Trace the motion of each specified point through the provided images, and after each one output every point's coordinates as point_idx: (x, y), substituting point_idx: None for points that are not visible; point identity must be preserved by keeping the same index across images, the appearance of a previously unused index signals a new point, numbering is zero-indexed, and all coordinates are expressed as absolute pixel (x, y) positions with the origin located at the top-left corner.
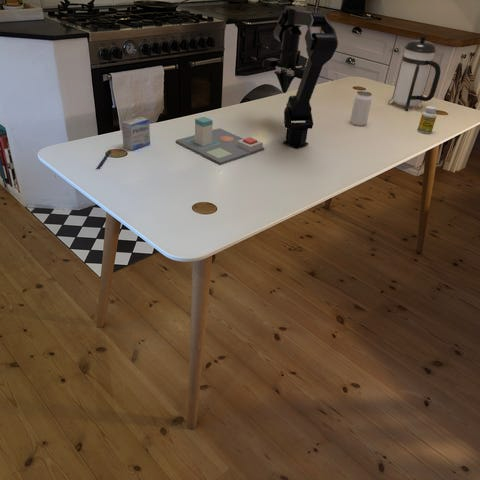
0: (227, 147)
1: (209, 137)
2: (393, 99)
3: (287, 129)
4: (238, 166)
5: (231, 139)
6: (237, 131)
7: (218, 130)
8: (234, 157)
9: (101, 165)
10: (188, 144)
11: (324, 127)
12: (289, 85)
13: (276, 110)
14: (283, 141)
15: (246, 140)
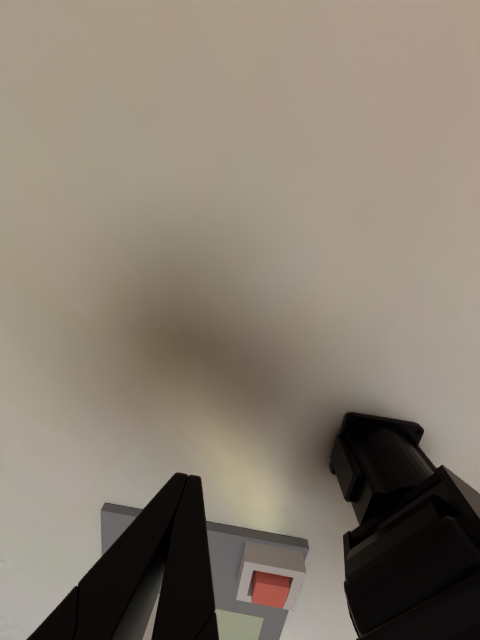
0: (225, 595)
1: None
2: None
3: (349, 501)
4: (311, 634)
5: None
6: (147, 476)
7: (114, 526)
8: (281, 627)
9: None
10: None
11: (411, 154)
12: (211, 583)
13: (50, 115)
14: (331, 471)
15: (264, 603)
